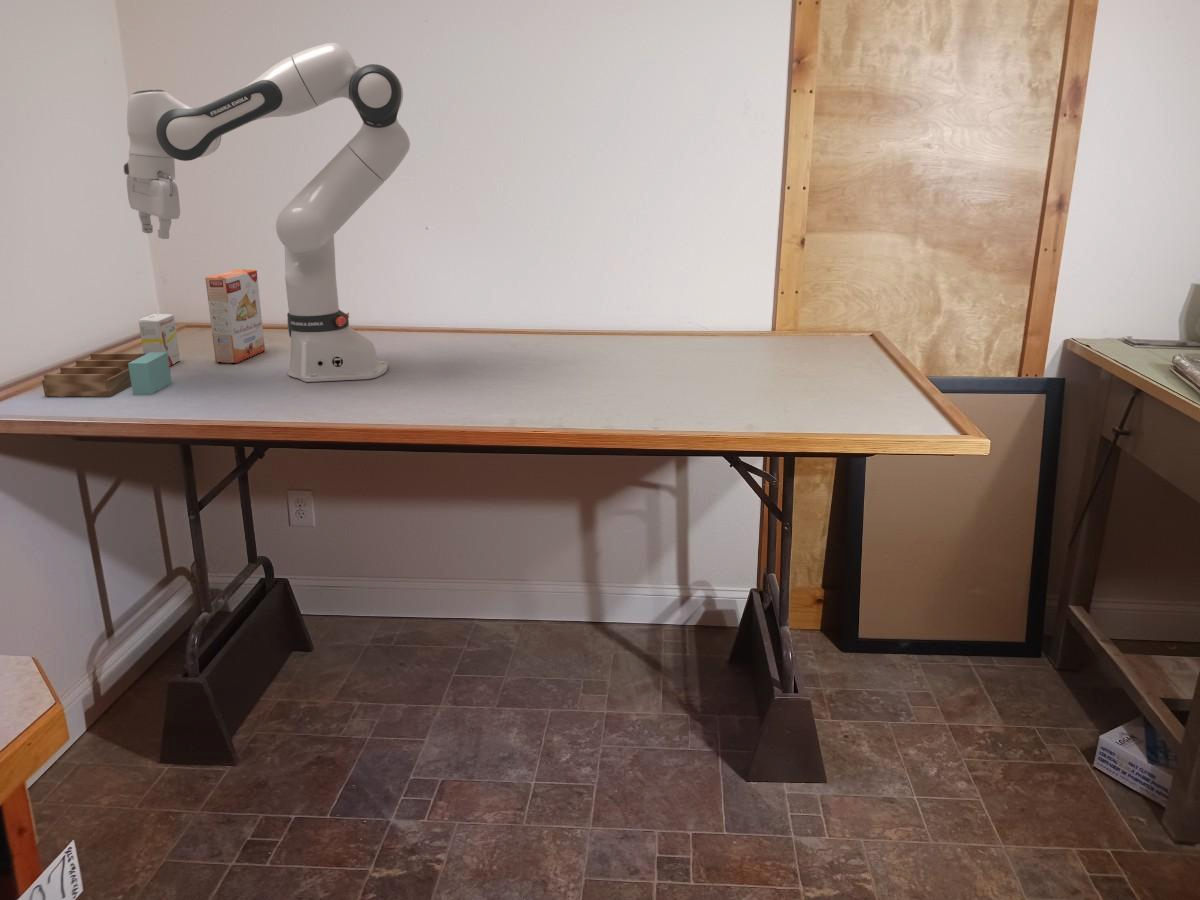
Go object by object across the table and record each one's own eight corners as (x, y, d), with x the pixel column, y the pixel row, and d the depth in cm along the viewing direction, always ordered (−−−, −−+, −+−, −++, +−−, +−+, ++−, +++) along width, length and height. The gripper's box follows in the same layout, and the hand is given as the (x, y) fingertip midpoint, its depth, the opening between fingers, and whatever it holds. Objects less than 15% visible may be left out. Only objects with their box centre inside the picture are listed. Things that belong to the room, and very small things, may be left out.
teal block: (171, 382, 219) (167, 352, 216) (151, 395, 209) (146, 363, 207) (154, 382, 219) (149, 352, 217) (133, 394, 209) (128, 363, 207)
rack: (152, 373, 226) (149, 353, 225) (110, 396, 208) (106, 374, 206) (92, 373, 227) (88, 353, 225) (45, 396, 208) (40, 375, 206)
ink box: (165, 369, 230) (157, 320, 226) (144, 369, 230) (136, 320, 226) (181, 361, 238) (174, 313, 234) (162, 361, 238) (154, 313, 234)
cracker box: (237, 364, 234) (226, 277, 227) (214, 363, 235) (202, 276, 229) (267, 351, 247) (257, 268, 240) (245, 350, 248) (235, 268, 242)
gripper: (186, 174, 203) (189, 242, 207) (150, 166, 216) (153, 230, 220) (155, 173, 198) (158, 242, 202) (120, 165, 212) (123, 229, 216)
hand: (155, 235), depth 212 cm, fingers open, 8 cm apart
